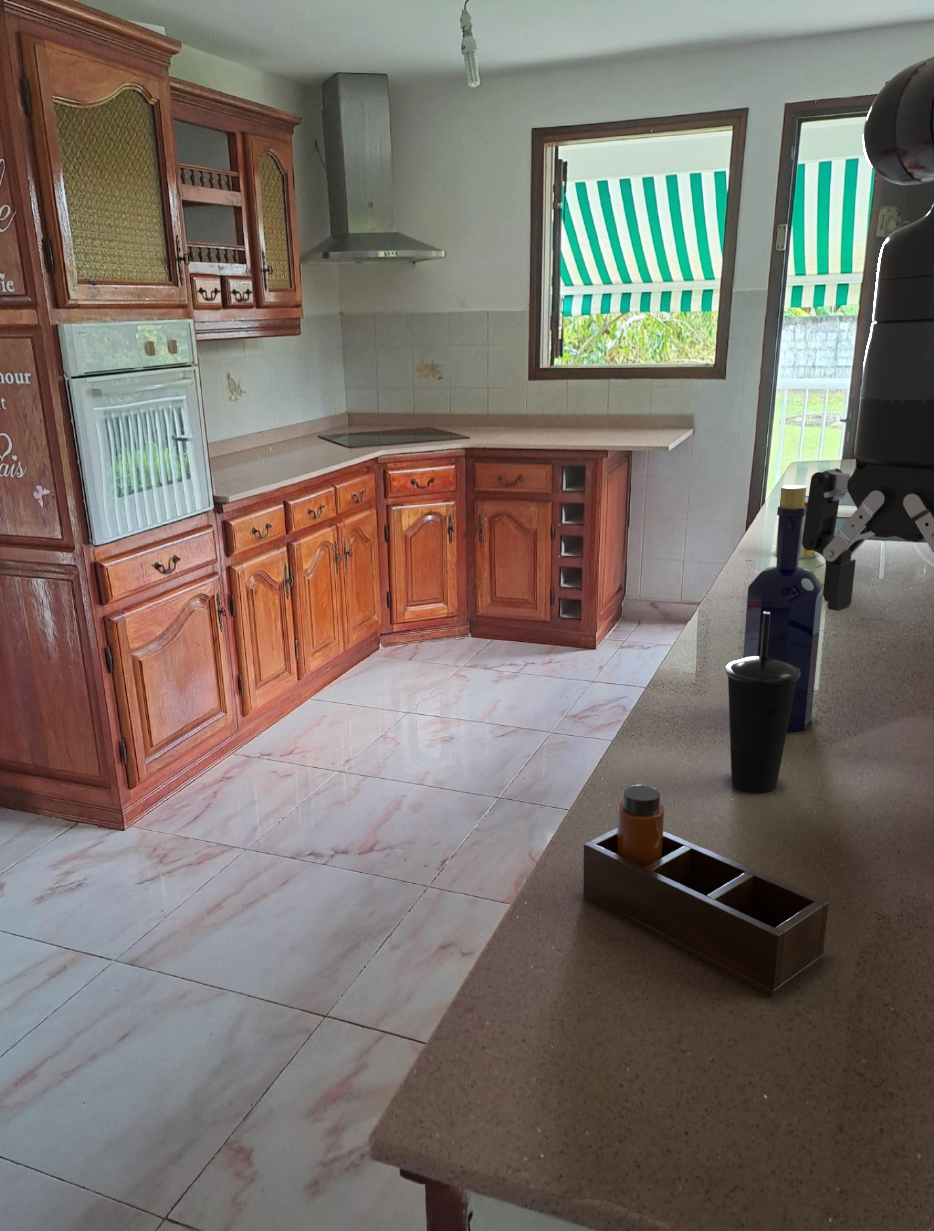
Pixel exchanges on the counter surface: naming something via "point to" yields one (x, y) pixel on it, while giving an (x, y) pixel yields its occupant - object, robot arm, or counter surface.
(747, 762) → the drinking cup
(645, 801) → the spice bottle
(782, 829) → the counter surface
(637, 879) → the holder
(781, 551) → the bottle
